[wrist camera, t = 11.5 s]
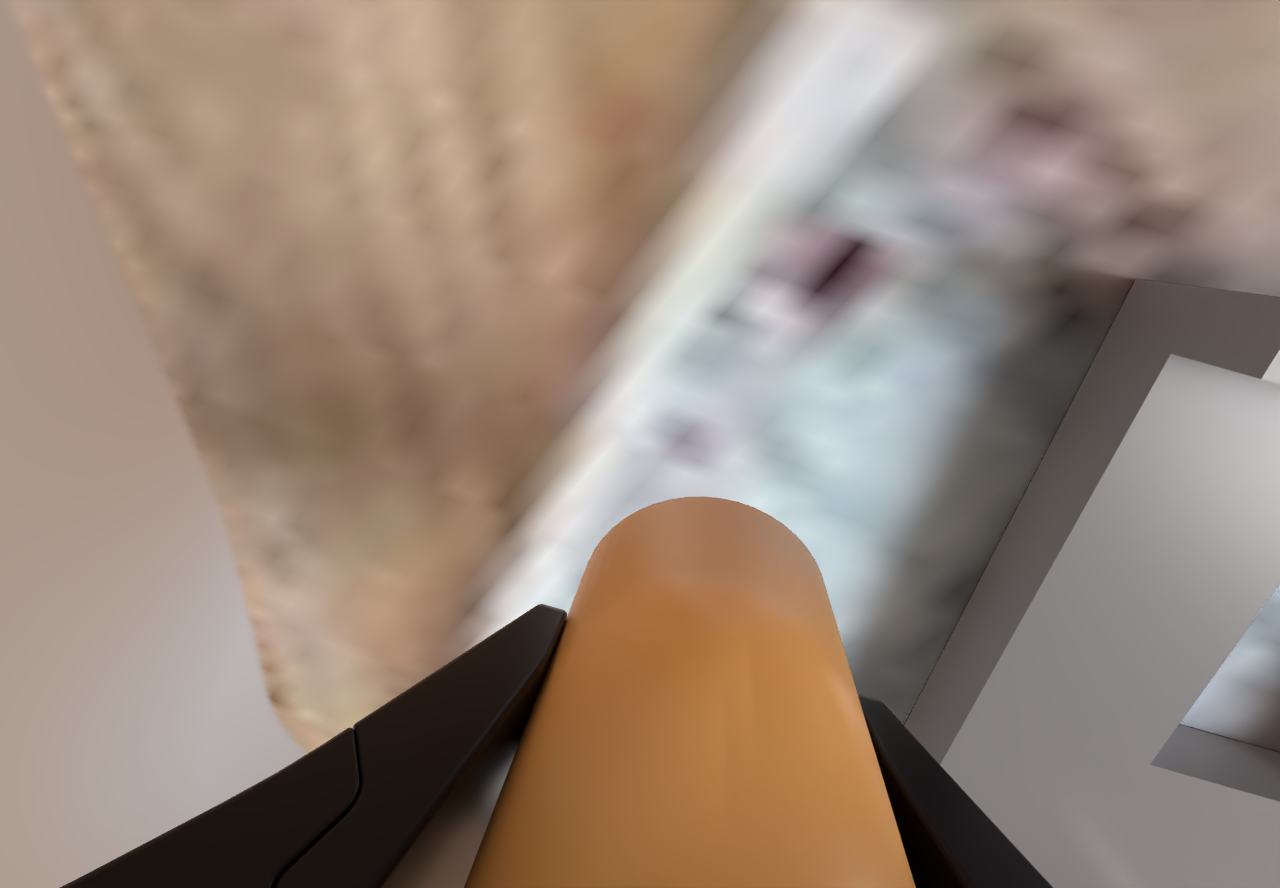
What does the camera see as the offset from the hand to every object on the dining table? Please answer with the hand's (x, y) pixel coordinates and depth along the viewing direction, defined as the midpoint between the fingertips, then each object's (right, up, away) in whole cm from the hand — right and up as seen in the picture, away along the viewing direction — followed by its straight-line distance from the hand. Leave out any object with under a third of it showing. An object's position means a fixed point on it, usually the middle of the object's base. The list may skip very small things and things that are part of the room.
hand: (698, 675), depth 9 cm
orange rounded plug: (0, +1, +2) cm, 2 cm away
